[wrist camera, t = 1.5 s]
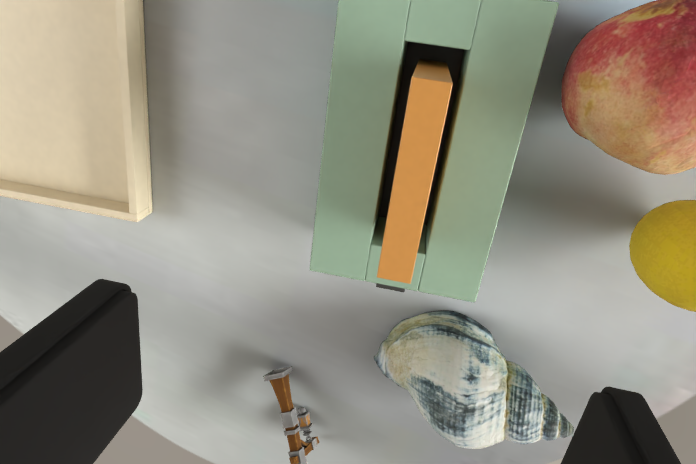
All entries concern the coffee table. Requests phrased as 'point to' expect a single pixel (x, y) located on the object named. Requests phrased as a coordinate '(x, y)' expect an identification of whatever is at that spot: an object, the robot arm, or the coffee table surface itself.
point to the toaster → (457, 138)
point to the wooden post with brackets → (292, 417)
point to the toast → (415, 169)
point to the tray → (75, 106)
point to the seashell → (467, 383)
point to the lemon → (668, 252)
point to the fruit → (638, 86)
